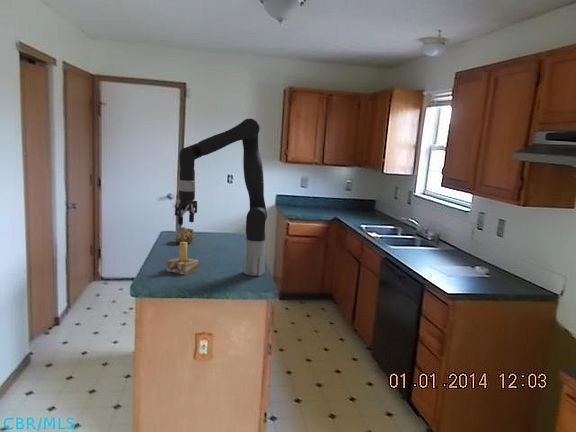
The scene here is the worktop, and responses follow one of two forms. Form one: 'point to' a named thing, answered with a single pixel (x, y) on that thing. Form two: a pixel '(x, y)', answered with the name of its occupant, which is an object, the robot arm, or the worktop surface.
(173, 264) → the socket mount
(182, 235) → the rock
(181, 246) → the peg
